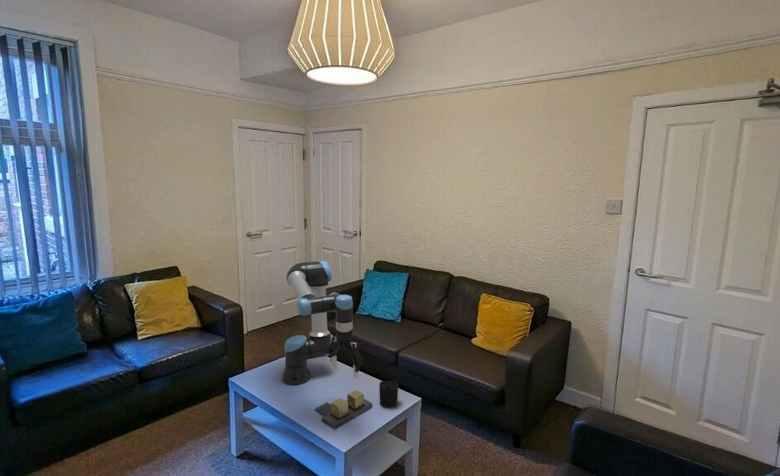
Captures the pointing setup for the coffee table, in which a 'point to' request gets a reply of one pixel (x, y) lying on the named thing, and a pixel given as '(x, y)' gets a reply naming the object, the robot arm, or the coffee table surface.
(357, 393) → the block
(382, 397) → the pen holder
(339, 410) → the tan textured cube
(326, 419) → the rail
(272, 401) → the coffee table surface
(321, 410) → the rubber pad
